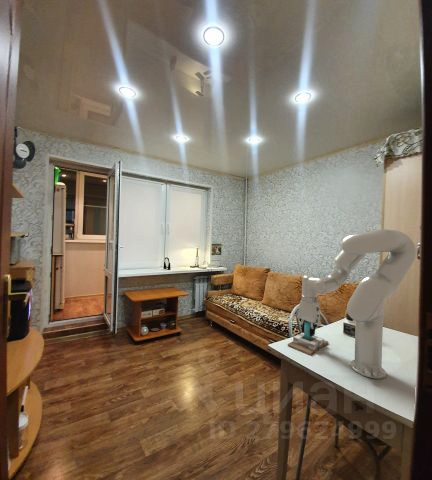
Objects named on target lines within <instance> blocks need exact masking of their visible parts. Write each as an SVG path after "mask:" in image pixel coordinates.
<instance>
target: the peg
mask: <svg viewBox="0 0 432 480" xmlns="http://www.w3.org/2000/svg"><path fill="white" fill-rule="evenodd" d="M310 328H311V323H310V322H308V321H305V322H304V338H306V339H312V336H310Z"/></svg>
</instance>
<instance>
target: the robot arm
mask: <svg viewBox="0 0 432 480" xmlns="http://www.w3.org/2000/svg"><path fill="white" fill-rule="evenodd" d="M387 252H388V253H387ZM375 253H387V255H386V256H385V258H384V259H383V260H382V262H381V263H380V265H379V266H378V269H377V270H376V271H375V272H374V274H370V275H368V276H367V275H366V276H365V277H364V278H363V279H361V280H360V282H358V283H359V284H358V285H357V287H356V288H355V290H354V291H353V293H352V294H351V296H350V298H349V300H348V302H347V305H346V311H347V313H348V314H349V316H350V317H351V318H352V319H353V320H355V321H356V325H355V337H354V359H352V360H350V362H349V363H350V365H349V366H350V368H351V369H352V370H353V371H354V372H355V373H357V374H359V375H361V376H364V377H366V378H369V379H370V378H371V379H376V380H377V379H379V380H381V379H384V378H386V377H387V372H386V370H385V369H384V368H383V365H382V364H383V363H382V362H383V361H382V360H383V337H384V336H383V335H384V334H383V331H384V320H385V314H386V308H385V304H384V301H385V300H386V299H388V298H391V297H392V296H393V295H394V294H395V293H396V291H397V290H398V288H399V287H400V285H401V283H402V282H403V280H404V278H405V277H406V275H407V273H408V272H409V271H410V269H411V267H412V265H413V264H414V262H415V260H416V255H417V247H416V245H415V243H414V241H413V240H412V239H411V238H410V236H408V235H407V234H406V233H404V232H402V231H399V230H394V229H388V228H387V229H386V228H385V229H378V230H372V231H365V232H360V233H359V232H358V233H353V234H349V235H346V236H345V237H343V239H342V241H341V250H340V252H339V253H338V254H337V255H336V256H335V258H334V259H333V261H334V264H335V267H334V269H333V270H332V271H331V272H330V274H328V275H327V276H323V277H317V276H316V275H313V274H311V275H310V274H304V275H303V276H302V277H301V278H302V280H301V285H302V286H301V299H300V301H299V304H298V305H299V306H298V313H297V314H296V318H297V319H298V321H299V323H300V325H301V333H304V322H305V321H308V322H310V323H311V328H310V336H316V328H317V327H320V326H322V325H323V324H322V322H321V310H320V308H321V307H320V305H319V304H320V299H319V298H318V294H322V295H323V294H327V293H331V292H334V291H336V290H338V289H339V288H340V287H341V286H342V285H343V284H344V283H345V282H346V281H347V280H348V278H349V276H350V275H351V272H352V270H354V268H355V267H356V266H357V265H358V264H359V263H360V262H361V261H362V260H363V258H364V257H366V255H367V254H375Z"/></svg>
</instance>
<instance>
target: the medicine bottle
mask: <svg viewBox="0 0 432 480" xmlns="http://www.w3.org/2000/svg"><path fill="white" fill-rule="evenodd" d="M345 316H346V317H345V320H344V321H343V324H342V325H343V326H342V328H343V330H342V334H343V335H345V336H349V337H353V338H355V325H356V321H355V320H353V319H352V318H351V317H350V316H349V314H348V312H347V313H346V315H345Z"/></svg>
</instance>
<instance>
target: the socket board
mask: <svg viewBox="0 0 432 480" xmlns="http://www.w3.org/2000/svg"><path fill="white" fill-rule="evenodd" d="M328 344H329V341H328V340H325V339H324V338H322V337H319V336H318V335H317V336H316V335H314V336H312V339H306V338H304V333H302V332H301V333H298V334H297V335H295V336H293V339H292V341H291V342H289V343H287V347H289V348H291V349H294V350H295V351H296V350H297V351H298V352H301V353H303V354H305V355H307V356H312V355H313V354H315V353H317V352H318V351H319V350H322V348H324V347H326V346H327V345H328Z"/></svg>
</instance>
